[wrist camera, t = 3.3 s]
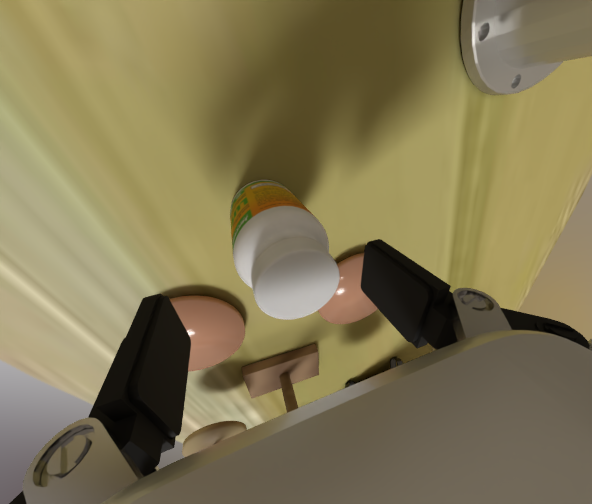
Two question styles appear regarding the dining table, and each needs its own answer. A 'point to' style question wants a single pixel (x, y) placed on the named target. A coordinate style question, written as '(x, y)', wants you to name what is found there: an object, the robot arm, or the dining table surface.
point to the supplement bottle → (281, 251)
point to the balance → (261, 392)
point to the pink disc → (348, 294)
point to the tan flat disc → (209, 329)
